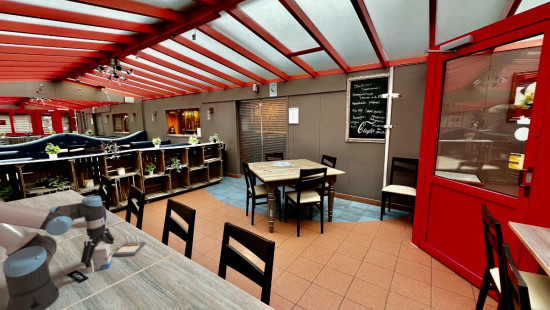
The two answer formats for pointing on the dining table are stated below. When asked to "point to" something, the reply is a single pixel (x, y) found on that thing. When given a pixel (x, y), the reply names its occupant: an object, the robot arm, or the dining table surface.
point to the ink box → (102, 257)
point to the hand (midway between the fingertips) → (100, 263)
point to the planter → (104, 213)
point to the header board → (130, 247)
